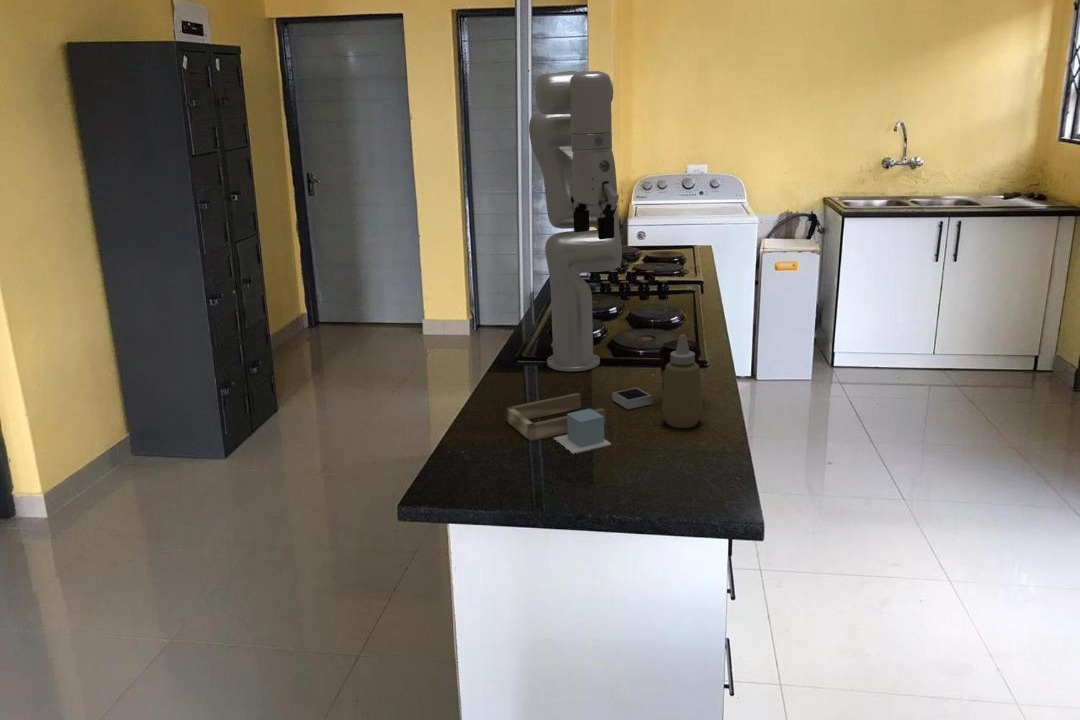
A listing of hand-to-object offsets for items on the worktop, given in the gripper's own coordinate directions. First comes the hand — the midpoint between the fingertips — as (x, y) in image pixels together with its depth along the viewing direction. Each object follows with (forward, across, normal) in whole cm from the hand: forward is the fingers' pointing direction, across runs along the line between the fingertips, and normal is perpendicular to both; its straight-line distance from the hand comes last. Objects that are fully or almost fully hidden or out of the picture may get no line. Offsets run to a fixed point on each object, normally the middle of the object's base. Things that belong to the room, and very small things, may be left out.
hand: (593, 234), depth 165 cm
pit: (+36, 0, -8) cm, 37 cm away
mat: (+36, -12, +10) cm, 40 cm away
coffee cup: (+36, -5, -16) cm, 40 cm away
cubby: (+36, -1, +10) cm, 38 cm away
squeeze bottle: (+36, -14, -11) cm, 41 cm away
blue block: (+36, -12, +9) cm, 39 cm away
